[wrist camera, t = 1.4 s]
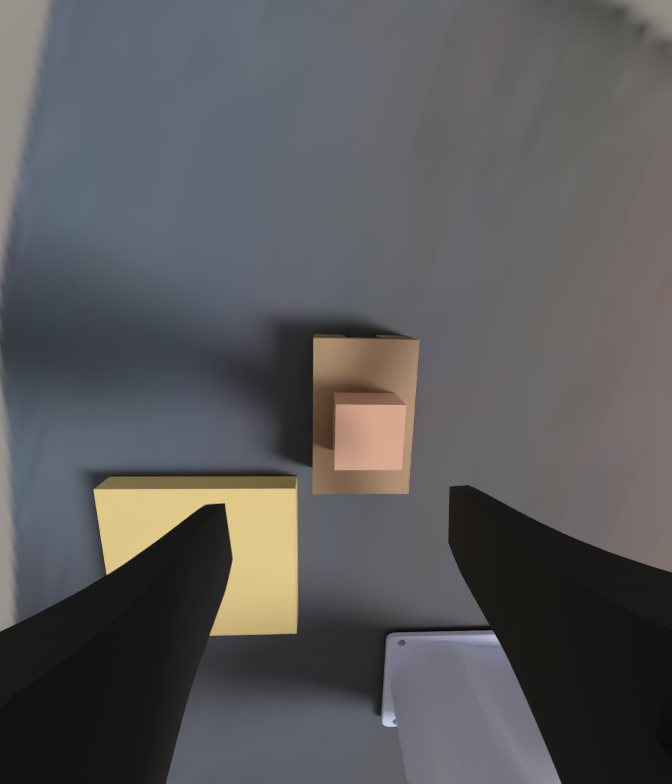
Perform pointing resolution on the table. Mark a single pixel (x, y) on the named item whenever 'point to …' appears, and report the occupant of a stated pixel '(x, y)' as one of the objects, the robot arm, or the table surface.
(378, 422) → the salmon pink square block
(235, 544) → the plate
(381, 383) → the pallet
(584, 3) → the table surface
